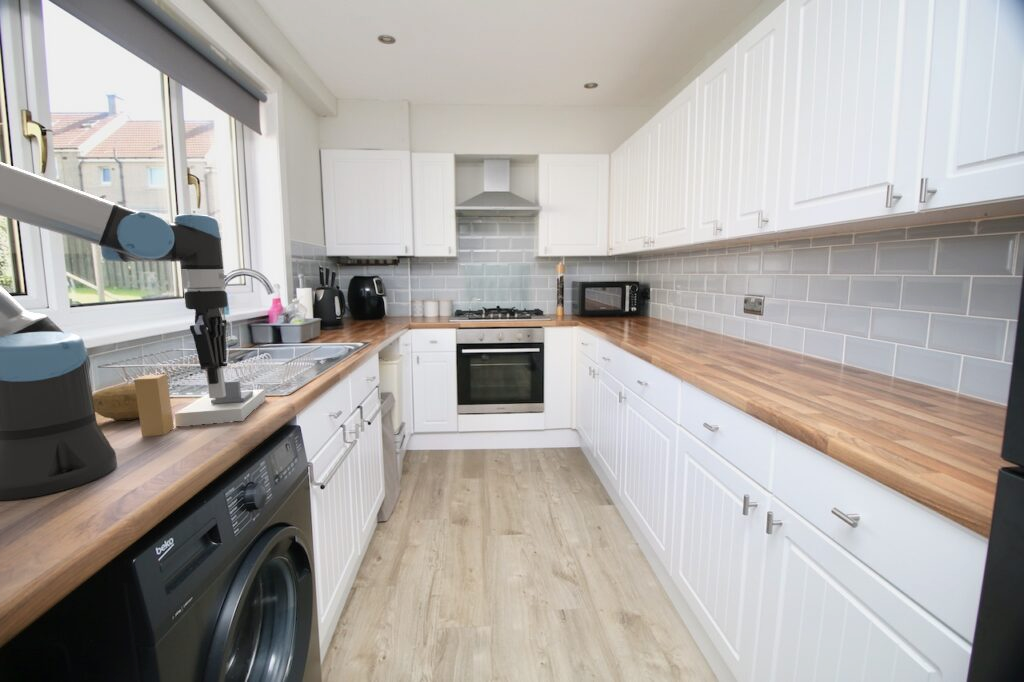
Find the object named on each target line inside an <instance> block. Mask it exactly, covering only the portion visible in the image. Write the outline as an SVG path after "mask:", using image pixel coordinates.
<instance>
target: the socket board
mask: <svg viewBox="0 0 1024 682" xmlns="http://www.w3.org/2000/svg"><path fill="white" fill-rule="evenodd" d="M246 391H253V395H251V396H250V397H249V398H248V399H246V400H245V401H243V402H229V403H215V404H211V400H212V399H214V398H210V397H209V392H208V393H206V394H204V395H203V396H200V397H199V398H198V399H196V400H194V401H193V402H191V403H190V404H188V405H186V406H185V407H183V408H181V409H179V410H178V411H176V412H174V419H175V421H174V423H175V427H176V426H180V427H191V426H190V425H193V426H203V425H202V424H205V425H214V424H213V423H217V424H224V423H223V422H229V423H232V422H231V421H242V422H243V421H245V418H246V417H247V416H248V415H249V414H250V413H251V412H252V411H253V410H254V409H255V410H257V409H258V408H259V407H260V406H261V405H262V404H263V403H264V402H266V392H265V391H266V390H265V388H264V389H261V388H259V389H250V390H248V389H247V390H246V389H245V390H241V392H246ZM260 404H261V405H260ZM259 405H260V406H259ZM258 406H259V407H258ZM257 407H258V408H257ZM256 408H257V409H256ZM255 410H254V411H255ZM254 411H253V412H254ZM253 412H252V413H253ZM252 413H251V414H252ZM251 414H250V415H251ZM250 415H249V416H250ZM249 416H248V417H249ZM248 417H247V418H248ZM247 418H246V419H247Z"/></svg>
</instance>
